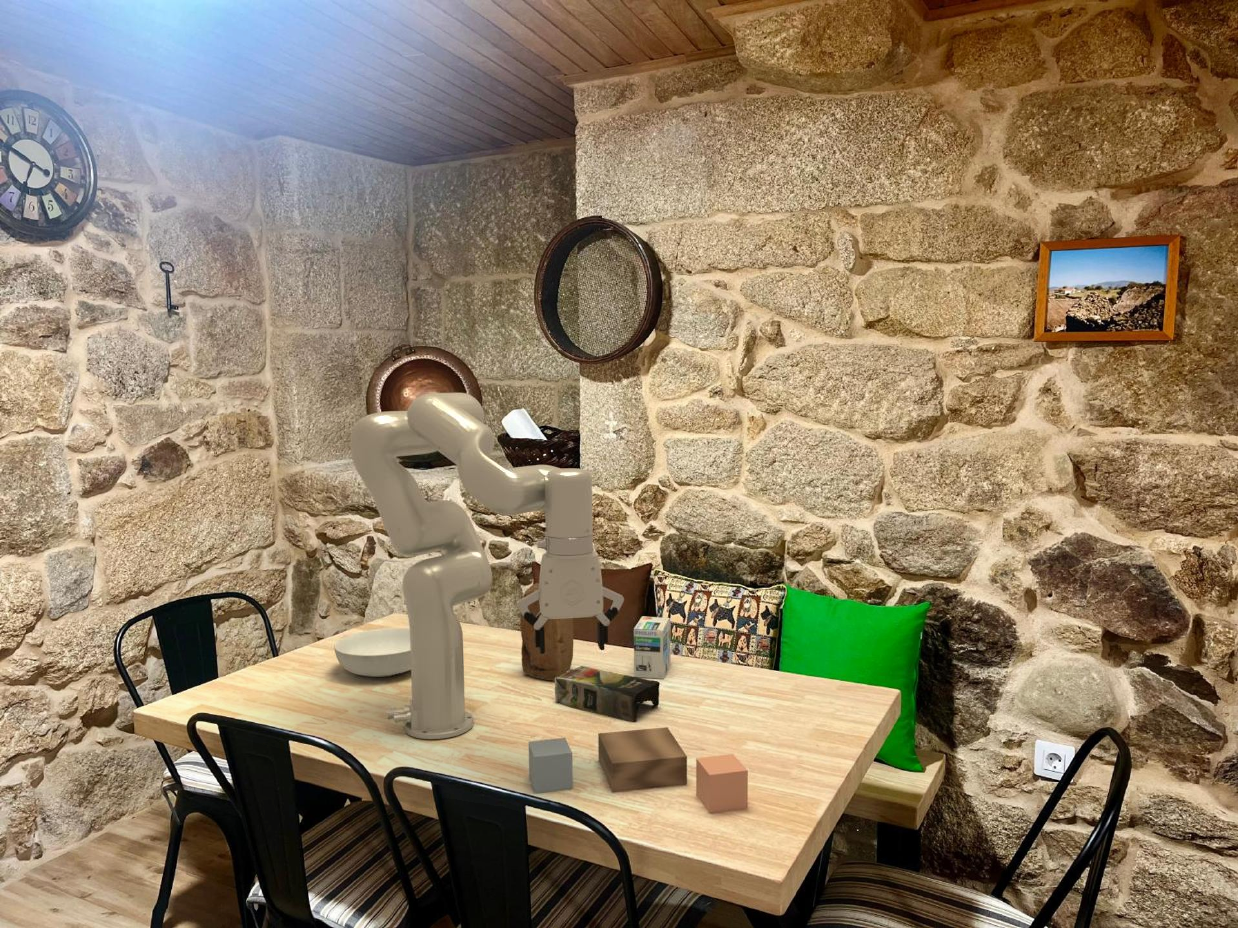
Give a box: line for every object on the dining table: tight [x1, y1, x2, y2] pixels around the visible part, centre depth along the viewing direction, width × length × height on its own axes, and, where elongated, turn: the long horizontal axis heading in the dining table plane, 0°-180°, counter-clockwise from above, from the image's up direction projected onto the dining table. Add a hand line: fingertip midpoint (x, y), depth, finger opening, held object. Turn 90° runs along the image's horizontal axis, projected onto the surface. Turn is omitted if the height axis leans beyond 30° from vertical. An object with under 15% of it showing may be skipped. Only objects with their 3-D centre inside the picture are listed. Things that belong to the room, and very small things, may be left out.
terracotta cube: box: [695, 753, 749, 814], centre depth 136 cm, size 6×6×6 cm
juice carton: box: [554, 665, 660, 723], centre depth 176 cm, size 20×10×6 cm, turn 56°
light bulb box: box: [633, 615, 672, 680], centre depth 196 cm, size 11×7×11 cm, turn 168°
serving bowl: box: [333, 627, 411, 678], centre depth 198 cm, size 21×21×7 cm
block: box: [519, 582, 574, 681], centre depth 193 cm, size 11×8×20 cm
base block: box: [597, 727, 688, 793], centre depth 146 cm, size 12×12×5 cm
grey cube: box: [528, 737, 574, 794], centre depth 143 cm, size 6×6×6 cm
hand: (571, 649), depth 146 cm, fingers open, 9 cm apart
